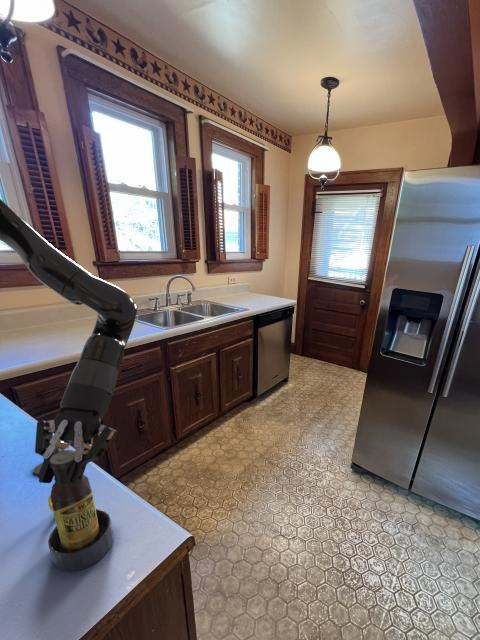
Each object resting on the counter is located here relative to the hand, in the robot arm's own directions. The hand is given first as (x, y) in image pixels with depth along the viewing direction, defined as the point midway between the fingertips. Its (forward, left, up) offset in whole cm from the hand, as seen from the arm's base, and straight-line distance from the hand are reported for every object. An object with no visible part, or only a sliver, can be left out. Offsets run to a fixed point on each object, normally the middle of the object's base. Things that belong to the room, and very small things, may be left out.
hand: (58, 483), depth 52 cm
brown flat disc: (-27, +17, -17) cm, 36 cm away
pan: (0, +2, -17) cm, 17 cm away
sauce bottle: (-1, +2, -16) cm, 16 cm away
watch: (-11, +8, -18) cm, 22 cm away
